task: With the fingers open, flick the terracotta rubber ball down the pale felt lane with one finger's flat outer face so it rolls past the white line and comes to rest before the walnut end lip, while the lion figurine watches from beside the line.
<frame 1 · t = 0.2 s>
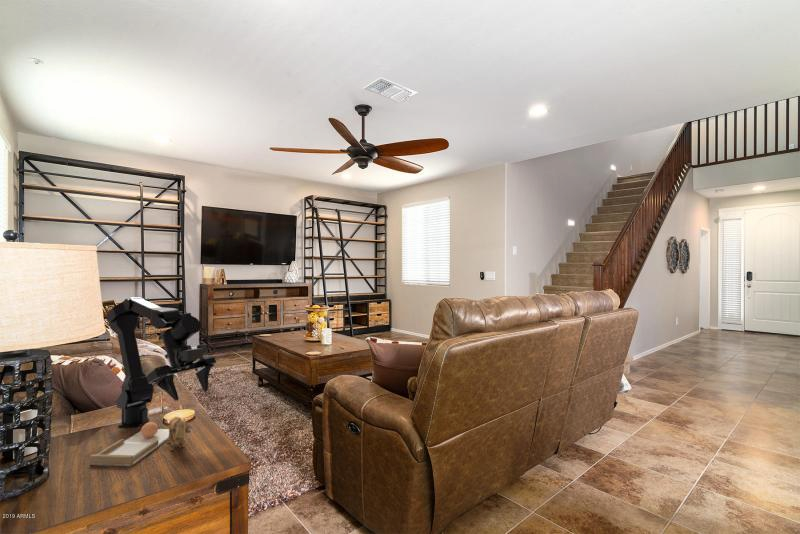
hand: (192, 395, 118), 15 cm above the table, tool tilted 30°, fingers open, 9 cm apart
ball: (149, 429, 121), point 3 cm above the table, touching lane
lane: (138, 446, 116), on the table
lion figurine: (177, 444, 118), on the table, touching lane
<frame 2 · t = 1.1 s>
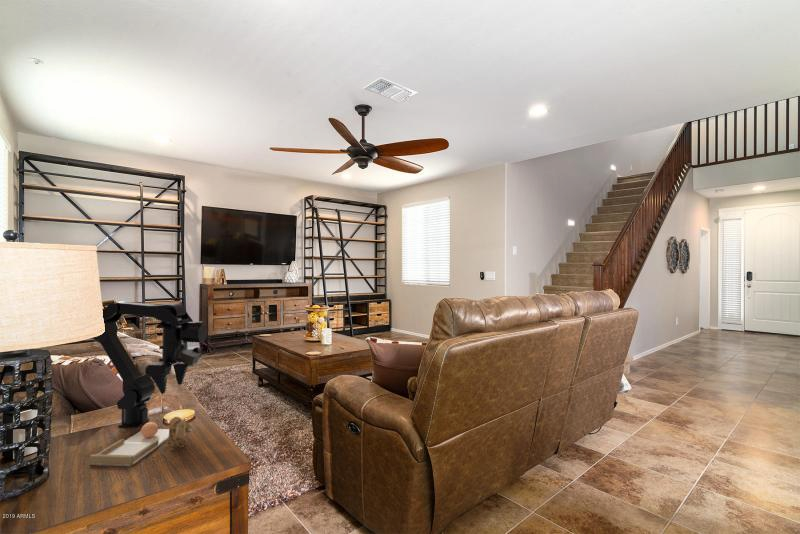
hand: (171, 388, 132), 12 cm above the table, tool pointing down, fingers open, 9 cm apart
nothing on the table moved.
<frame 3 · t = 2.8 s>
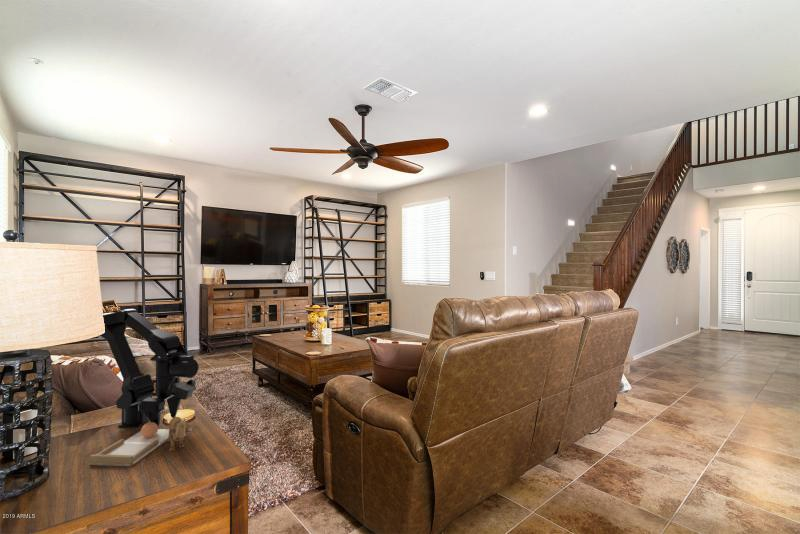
hand: (165, 423, 129), 2 cm above the table, tool pointing down, fingers open, 9 cm apart
ball: (149, 429, 121), point 3 cm above the table, touching gripper, lane
everything else where it was.
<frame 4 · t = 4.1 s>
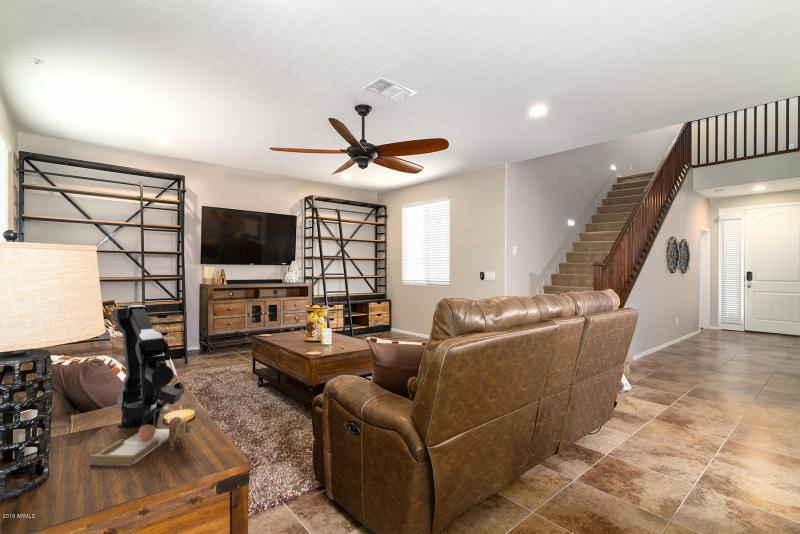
hand: (153, 428, 123), 3 cm above the table, tool pointing down, fingers closed
ball: (147, 431, 120), point 3 cm above the table, tilted 36°, touching gripper, lane
everything else where it was.
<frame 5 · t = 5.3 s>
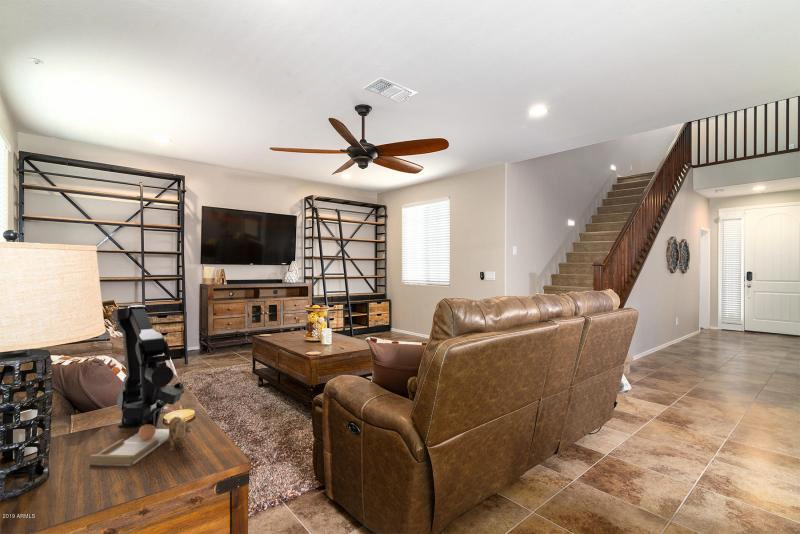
hand: (153, 428, 123), 3 cm above the table, tool pointing down, fingers closed
nothing on the table moved.
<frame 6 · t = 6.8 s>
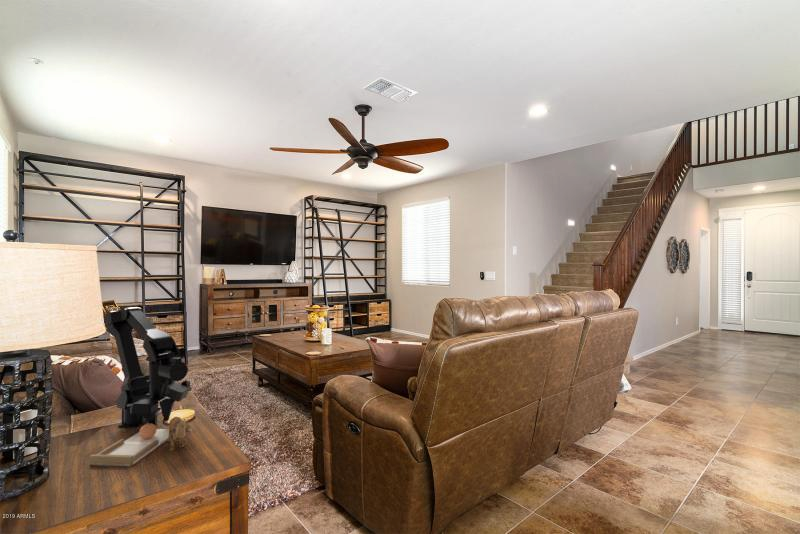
hand: (160, 424, 126), 2 cm above the table, tool pointing down, fingers open, 6 cm apart
ball: (148, 431, 121), point 3 cm above the table, tilted 19°, touching gripper, lane
everything else where it was.
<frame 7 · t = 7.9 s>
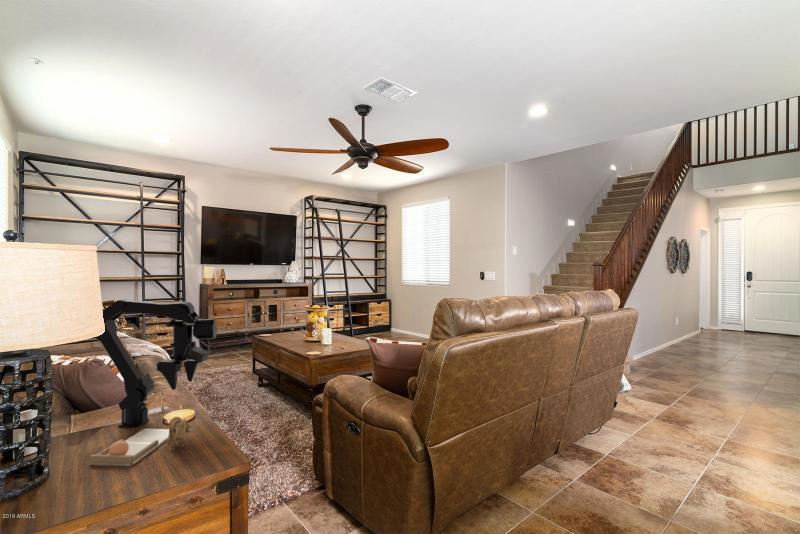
hand: (182, 385, 136), 12 cm above the table, tool pointing down, fingers open, 9 cm apart
ball: (119, 449, 109), point 3 cm above the table, tilted 28°, touching lane
everything else where it was.
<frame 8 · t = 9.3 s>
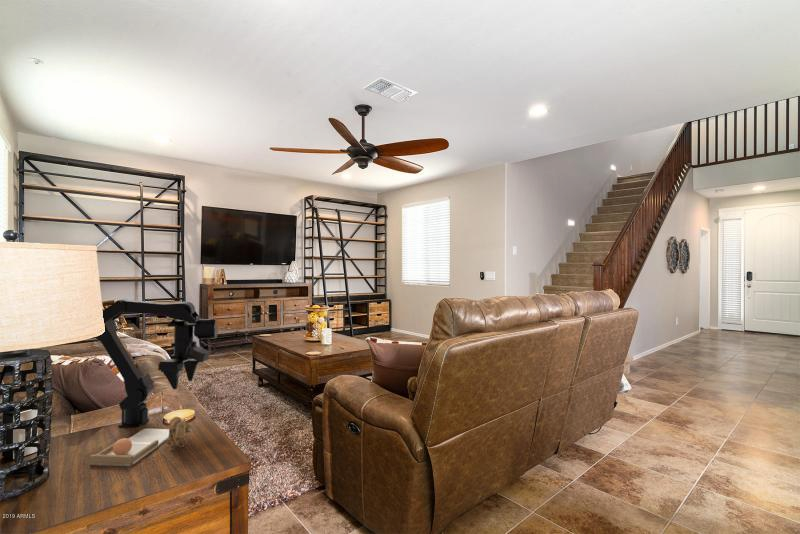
hand: (182, 384, 136), 12 cm above the table, tool pointing down, fingers open, 9 cm apart
ball: (122, 446, 110), point 3 cm above the table, tilted 65°, touching lane
everything else where it was.
at the end: ball inside the target area (0.6 cm from its centre), point 2.8 cm above the table; ball moved 11.3 cm from its start; lion figurine moved 0.2 cm from its start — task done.
